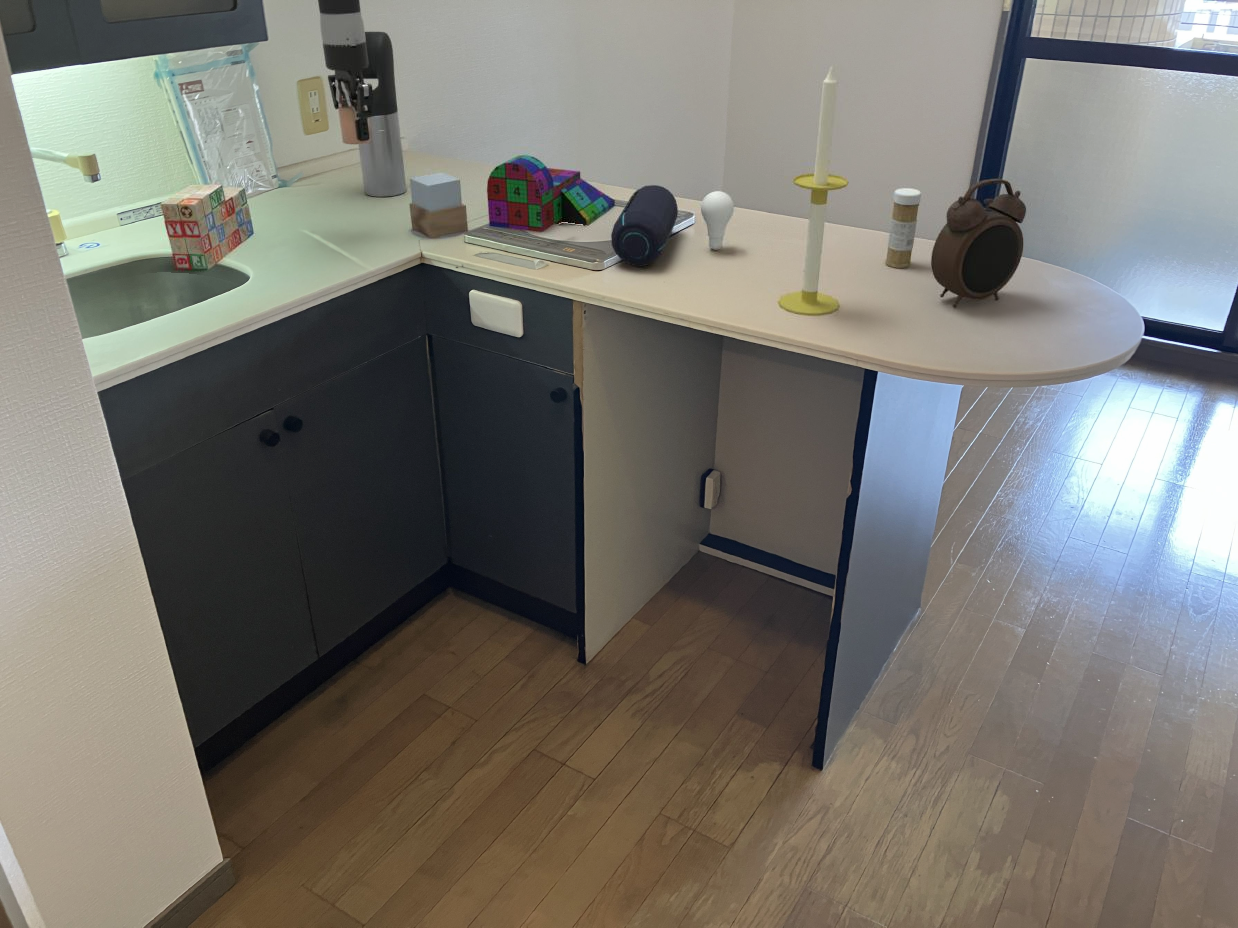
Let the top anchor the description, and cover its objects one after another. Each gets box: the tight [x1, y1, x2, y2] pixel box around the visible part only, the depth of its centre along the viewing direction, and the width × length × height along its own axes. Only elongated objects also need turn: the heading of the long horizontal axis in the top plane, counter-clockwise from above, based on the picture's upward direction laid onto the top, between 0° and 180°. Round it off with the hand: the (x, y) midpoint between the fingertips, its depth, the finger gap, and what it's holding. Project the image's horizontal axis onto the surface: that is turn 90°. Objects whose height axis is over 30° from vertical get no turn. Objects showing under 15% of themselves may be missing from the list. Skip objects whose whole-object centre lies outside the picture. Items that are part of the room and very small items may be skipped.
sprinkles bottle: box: [885, 187, 922, 269], centre depth 180 cm, size 5×5×13 cm
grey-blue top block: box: [409, 171, 463, 212], centre depth 195 cm, size 7×7×5 cm
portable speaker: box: [610, 184, 679, 267], centre depth 189 cm, size 25×10×10 cm, turn 170°
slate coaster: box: [411, 228, 467, 240], centre depth 199 cm, size 11×11×1 cm
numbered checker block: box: [486, 154, 616, 233], centre depth 205 cm, size 25×17×14 cm
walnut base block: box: [408, 203, 469, 240], centre depth 197 cm, size 8×8×5 cm
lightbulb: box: [700, 190, 735, 251], centre depth 188 cm, size 6×6×11 cm
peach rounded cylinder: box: [337, 105, 371, 145], centre depth 186 cm, size 5×5×6 cm
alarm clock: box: [930, 178, 1027, 309], centre depth 162 cm, size 14×7×20 cm, turn 114°
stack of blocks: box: [160, 184, 255, 271], centre depth 188 cm, size 21×6×12 cm, turn 175°
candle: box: [777, 65, 849, 316], centre depth 157 cm, size 10×10×38 cm
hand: (356, 137), depth 187 cm, fingers closed on peach rounded cylinder, 5 cm apart
